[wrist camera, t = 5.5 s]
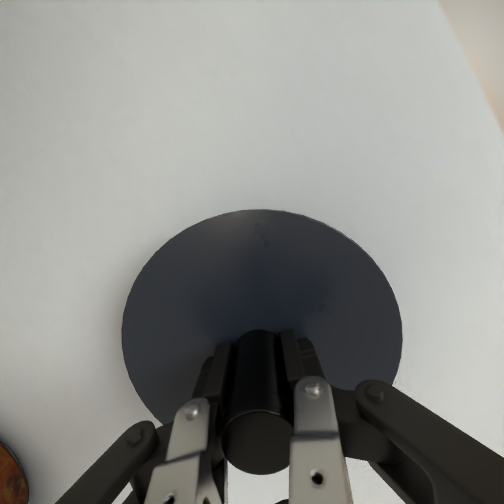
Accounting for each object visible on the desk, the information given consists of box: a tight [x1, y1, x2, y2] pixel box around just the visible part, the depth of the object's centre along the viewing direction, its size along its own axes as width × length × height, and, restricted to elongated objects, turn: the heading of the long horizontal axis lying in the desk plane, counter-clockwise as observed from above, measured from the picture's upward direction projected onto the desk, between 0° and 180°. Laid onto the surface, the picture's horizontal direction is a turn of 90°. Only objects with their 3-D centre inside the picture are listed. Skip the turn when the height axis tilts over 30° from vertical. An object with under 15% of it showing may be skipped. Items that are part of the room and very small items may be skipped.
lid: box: [122, 209, 403, 475], centre depth 11 cm, size 15×15×6 cm
